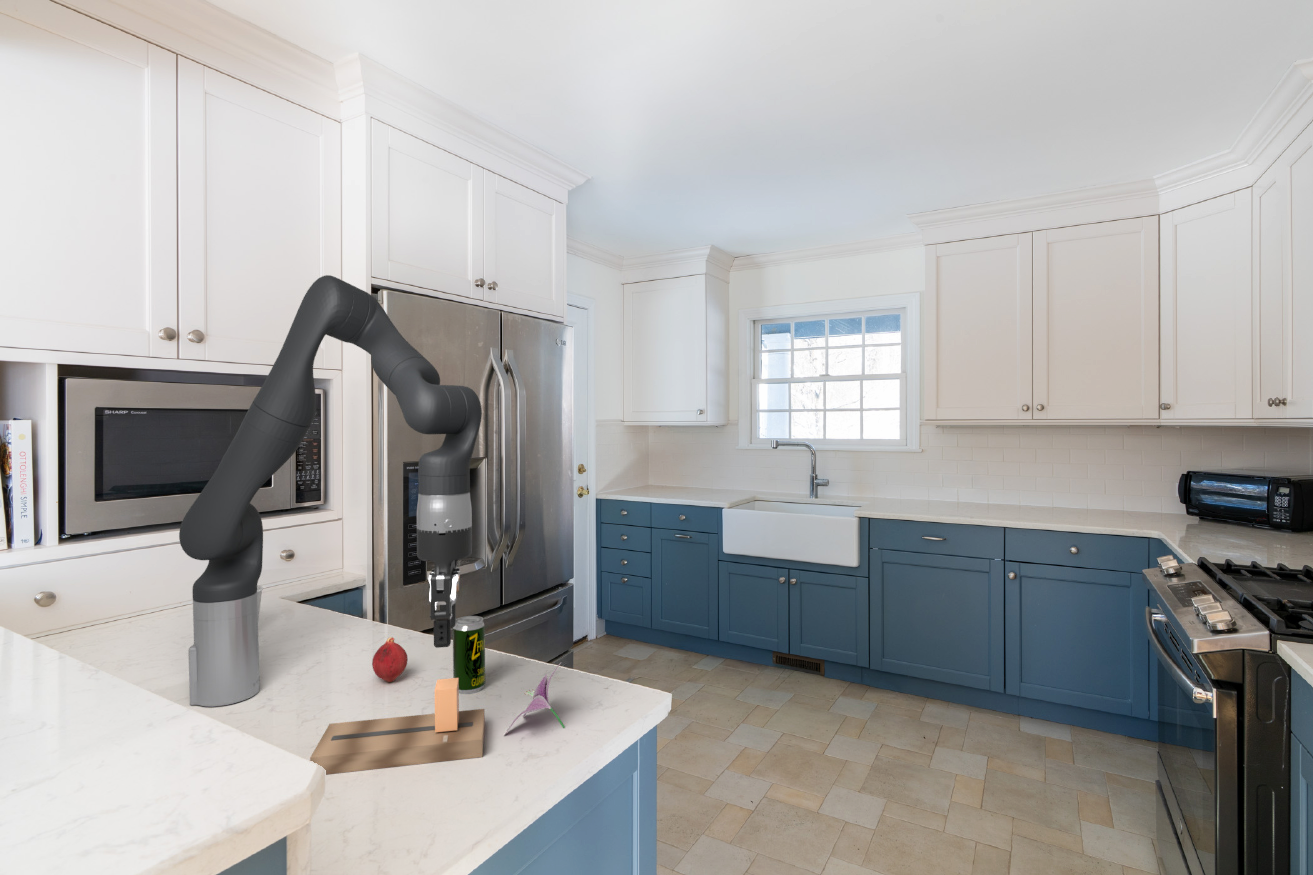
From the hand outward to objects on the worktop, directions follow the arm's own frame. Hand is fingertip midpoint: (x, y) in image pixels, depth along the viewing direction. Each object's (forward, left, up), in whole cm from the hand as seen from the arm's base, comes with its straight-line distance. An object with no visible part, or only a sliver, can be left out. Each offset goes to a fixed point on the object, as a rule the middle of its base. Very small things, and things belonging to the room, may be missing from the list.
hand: (445, 636), depth 96 cm
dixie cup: (-48, +61, -16) cm, 79 cm away
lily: (+13, +3, -16) cm, 21 cm away
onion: (-12, +26, -16) cm, 33 cm away
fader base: (-6, 0, -16) cm, 17 cm away
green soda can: (+2, +20, -16) cm, 26 cm away
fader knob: (0, 0, -13) cm, 13 cm away
